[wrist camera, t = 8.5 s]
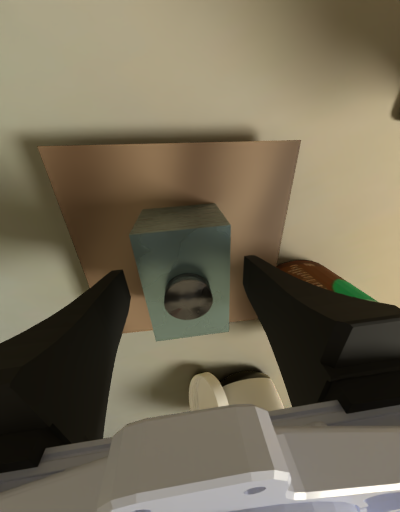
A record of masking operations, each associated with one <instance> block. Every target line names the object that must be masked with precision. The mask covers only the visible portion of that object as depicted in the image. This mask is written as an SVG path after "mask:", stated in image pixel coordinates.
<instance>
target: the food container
mask: <svg viewBox="0 0 400 512" xmlns="http://www.w3.org/2000/svg"><path fill="white" fill-rule="evenodd" d="M276 267H277V268H279V269H280V270H282V271H284V272H286V273H288V274H290V275H292V276H294V277H296V278H298V279H301V280H303V281H306V282H308V283H311V284H313V285H316V286H318V287H321V288H324V289H327V290H330V291H334V292H337V293H340V294H344V295H348V296H352V297H356V298H360V299H364V300H369V301H374V302H377V301H376V300H374V299H373V298H371V297H370V296H368V295H367V294H365V293H364V292H362V291H361V290H359V289H358V288H356V287H355V286H353V285H352V284H350V283H348V282H347V281H345V280H344V279H342V278H341V277H339V276H338V275H336V274H335V273H333V272H332V271H330V270H329V269H327V268H326V267H324V266H322V265H321V264H319V263H316V262H313V261H307V260H296V261H290V262H286V263H282V264H280V265H277V266H276Z"/></svg>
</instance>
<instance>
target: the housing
mask: <svg viewBox="0 0 400 512" xmlns="http://www.w3.org/2000/svg"><path fill="white" fill-rule="evenodd" d="M129 238H130V242H131V245H132V249H133V253H134V257H135V261H136V265H137V269H138V273H139V277H140V281H141V284H142V288H143V292H144V296H145V300H146V304H147V308H148V312H149V316H150V319H151V323H152V327H153V331H154V335H155V339H156V341H163V340H170V339H177V338H185V337H192V336H200V335H207V334H215V333H222V332H229V301H230V246H231V224H230V223H229V222H228V220H227V219H226V218H225V216H224V215H223V213H222V212H221V211H220V209H219V208H218V207H217V205H216V204H215V203H210V204H199V205H188V206H177V207H165V208H154V209H143V210H142V211H141V213H140V215H139V217H138V219H137V220H136V222H135V224H134V226H133V228H132V230H131V232H130V234H129Z"/></svg>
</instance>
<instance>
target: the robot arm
mask: <svg viewBox="0 0 400 512" xmlns="http://www.w3.org/2000/svg"><path fill="white" fill-rule="evenodd" d="M243 286H244V289H245V292H246V295H247V297H248V299H249V301H250V303H251V305H252V307H253V309H254V311H255V313H256V315H257V317H258V319H259V320H260V322H261V324H262V326H263V328H264V330H265V332H266V335H267V337H268V340H269V342H270V345H271V347H272V350H273V352H274V355H275V358H276V361H277V363H278V366H279V369H280V372H281V374H282V377H283V380H284V383H285V386H286V389H287V392H288V395H289V398H290V401H291V405H292V407H291V408H285V409H279V410H273V411H267V410H265V409H263V408H261V407H258V406H256V405H253V404H232V405H226V406H220V407H214V408H208V409H202V410H195V411H189V412H183V413H177V414H171V415H164V416H158V417H152V418H146V419H142V420H139V421H136V422H132V423H129V424H127V425H126V426H125V427H123V428H122V429H121V430H120V431H118V432H117V433H116V434H115V435H114V436H113V437H110V438H104V439H103V433H104V425H105V417H106V410H107V403H108V396H109V390H110V384H111V378H112V372H113V367H114V362H115V357H116V353H117V349H118V345H119V342H120V339H121V336H122V332H123V329H124V326H125V323H126V319H127V316H128V313H129V307H130V300H131V295H130V292H129V288H128V285H127V282H126V279H125V275H124V272H123V269H122V270H113V271H111V272H109V273H108V274H107V275H105V276H104V277H103V278H102V279H101V280H99V281H98V282H97V283H96V284H94V285H93V286H92V287H91V288H90V289H88V290H87V291H86V292H85V293H83V294H82V295H81V296H79V297H78V298H77V299H75V300H74V301H73V302H71V303H70V304H69V305H67V306H66V307H64V308H63V309H61V310H60V311H58V312H57V313H55V314H54V315H52V316H51V317H49V318H47V319H46V320H44V321H42V322H40V323H38V324H37V325H35V326H33V327H31V328H30V329H28V330H26V331H24V332H22V333H20V334H18V335H16V336H14V337H13V338H11V339H9V340H6V341H4V342H2V343H0V512H400V308H398V307H397V306H395V305H389V304H384V303H379V302H374V301H369V300H364V299H360V298H356V297H352V296H348V295H344V294H340V293H337V292H334V291H330V290H327V289H324V288H321V287H318V286H316V285H313V284H311V283H308V282H306V281H303V280H301V279H298V278H296V277H294V276H292V275H290V274H288V273H286V272H284V271H282V270H280V269H279V268H277V267H275V266H273V265H271V264H270V263H268V262H266V261H264V260H263V259H261V258H259V257H257V256H255V255H249V256H244V267H243Z"/></svg>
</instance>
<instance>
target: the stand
mask: <svg viewBox="0 0 400 512" xmlns="http://www.w3.org/2000/svg"><path fill="white" fill-rule="evenodd" d="M300 143H301V140H287V141H244V142H200V143H157V144H114V145H71V146H37V147H38V150H39V152H40V155H41V158H42V161H43V163H44V166H45V169H46V171H47V174H48V177H49V179H50V182H51V185H52V187H53V190H54V193H55V196H56V198H57V201H58V204H59V206H60V209H61V212H62V214H63V217H64V220H65V222H66V225H67V228H68V231H69V233H70V236H71V239H72V241H73V244H74V247H75V249H76V252H77V255H78V257H79V260H80V263H81V266H82V268H83V271H84V274H85V276H86V279H87V282H88V284H89V287H90V288H91V287H92V286H93V285H94V284H96V283H97V282H98V281H99V280H101V279H102V278H103V277H104V276H105V275H107V274H108V273H109V272H111V271H113V270H122V269H123V272H124V275H125V279H126V282H127V285H128V288H129V292H130V295H131V300H130V307H129V313H128V316H127V319H126V323H125V326H124V329H123V332H122V333H130V332H139V331H149V330H153V327H152V323H151V319H150V316H149V312H148V308H147V304H146V300H145V296H144V292H143V288H142V284H141V281H140V277H139V273H138V269H137V265H136V261H135V257H134V253H133V249H132V245H131V242H130V238H129V234H130V232H131V230H132V228H133V226H134V224H135V222H136V220H137V219H138V217H139V215H140V213H141V211H142V210H143V209H154V208H165V207H177V206H188V205H199V204H210V203H215V204H216V205H217V207H218V208H219V209H220V211H221V212H222V213H223V215H224V216H225V218H226V219H227V220H228V222H229V223H230V224H231V246H230V301H229V322H235V321H245V320H254V319H258V317H257V315H256V313H255V311H254V309H253V307H252V305H251V303H250V301H249V299H248V297H247V295H246V292H245V289H244V286H243V267H244V256H249V255H255V256H257V257H259V258H261V259H263V260H264V261H266V262H268V263H270V264H271V265H273V266H275V267H276V265H277V260H278V255H279V249H280V244H281V239H282V234H283V229H284V224H285V219H286V214H287V209H288V204H289V199H290V194H291V188H292V183H293V178H294V173H295V168H296V163H297V158H298V153H299V148H300Z"/></svg>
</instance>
